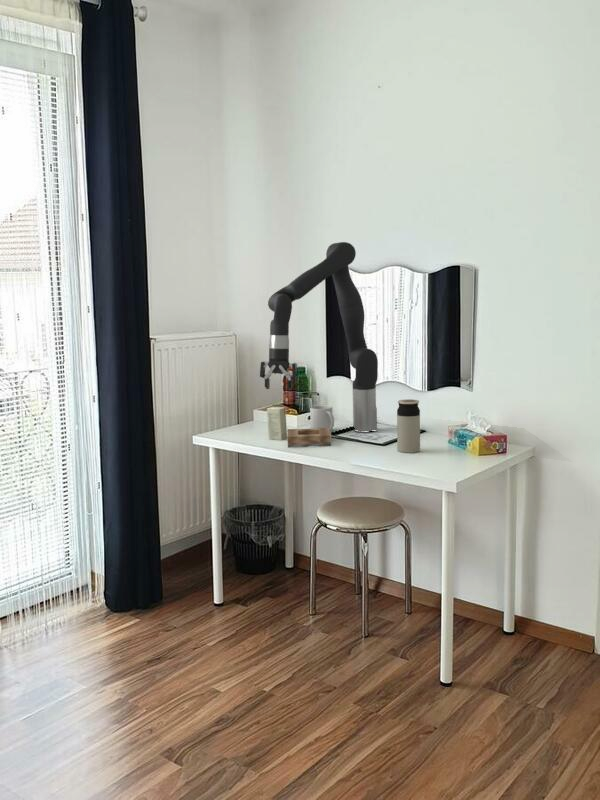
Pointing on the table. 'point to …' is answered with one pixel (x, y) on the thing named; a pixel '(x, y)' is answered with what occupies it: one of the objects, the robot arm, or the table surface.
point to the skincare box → (276, 423)
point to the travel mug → (408, 426)
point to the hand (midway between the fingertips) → (278, 389)
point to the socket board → (309, 437)
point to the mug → (322, 417)
